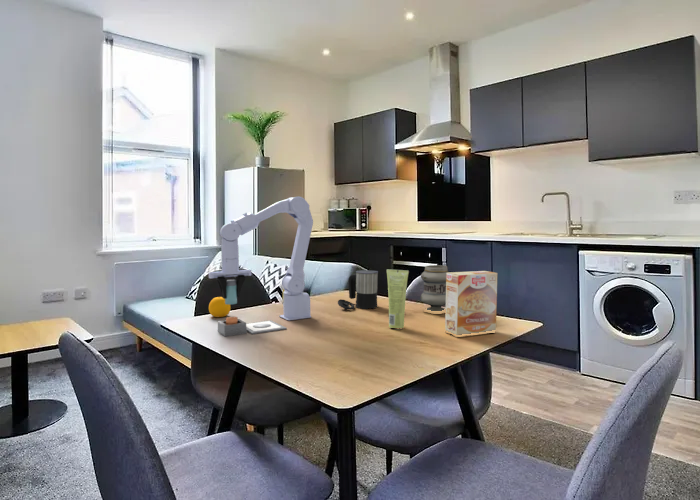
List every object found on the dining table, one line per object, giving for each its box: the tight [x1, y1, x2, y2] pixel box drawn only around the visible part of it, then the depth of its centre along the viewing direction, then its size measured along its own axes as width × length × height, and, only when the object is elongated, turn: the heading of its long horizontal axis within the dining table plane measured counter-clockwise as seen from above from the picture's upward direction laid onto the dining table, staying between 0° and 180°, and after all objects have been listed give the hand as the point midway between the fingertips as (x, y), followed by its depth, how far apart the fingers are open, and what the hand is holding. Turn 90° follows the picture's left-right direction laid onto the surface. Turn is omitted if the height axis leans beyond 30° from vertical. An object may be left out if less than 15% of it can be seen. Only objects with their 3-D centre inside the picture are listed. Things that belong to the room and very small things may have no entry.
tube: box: [386, 269, 410, 329], centre depth 151 cm, size 6×5×20 cm
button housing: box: [217, 318, 247, 337], centre depth 145 cm, size 7×7×3 cm
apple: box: [208, 296, 232, 318], centre depth 169 cm, size 8×8×8 cm
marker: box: [225, 279, 238, 305], centre depth 158 cm, size 4×4×8 cm
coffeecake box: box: [444, 270, 498, 335], centre depth 144 cm, size 15×7×20 cm, turn 112°
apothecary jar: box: [420, 264, 450, 311], centre depth 176 cm, size 12×12×18 cm
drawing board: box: [246, 319, 288, 335], centre depth 152 cm, size 12×13×1 cm
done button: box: [225, 316, 239, 325], centre depth 145 cm, size 4×4×2 cm
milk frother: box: [337, 269, 379, 311], centre depth 184 cm, size 14×16×15 cm
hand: (230, 297), depth 158 cm, fingers closed on marker, 4 cm apart
